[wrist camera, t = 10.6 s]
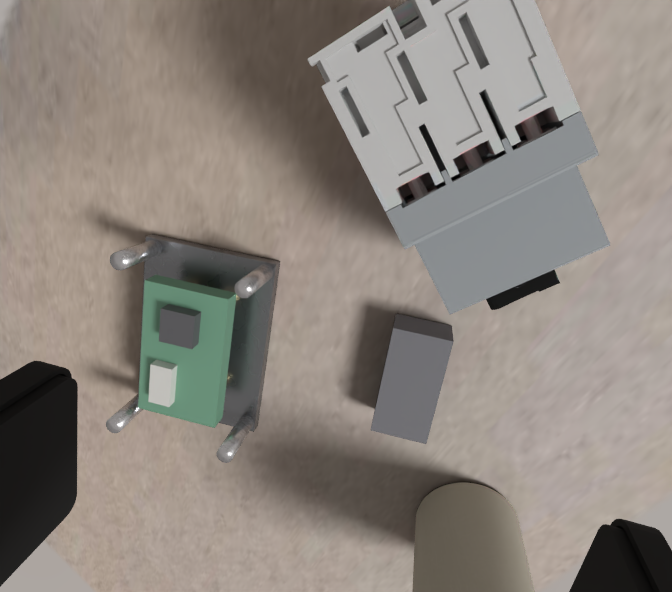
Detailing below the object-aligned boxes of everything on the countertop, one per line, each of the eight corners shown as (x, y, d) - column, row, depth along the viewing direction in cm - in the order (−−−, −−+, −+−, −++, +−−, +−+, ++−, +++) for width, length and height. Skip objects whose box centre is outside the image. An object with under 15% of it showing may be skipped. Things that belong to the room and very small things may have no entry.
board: (156, 274, 35) (136, 284, 33) (236, 293, 35) (222, 304, 32) (148, 397, 39) (130, 414, 36) (222, 417, 38) (208, 435, 36)
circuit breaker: (455, 283, 35) (471, 380, 21) (359, 90, 32) (304, 51, 18) (562, 234, 33) (662, 306, 19) (468, 23, 30) (501, -79, 16)
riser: (396, 313, 36) (393, 328, 33) (451, 325, 36) (453, 341, 33) (375, 409, 39) (370, 430, 36) (426, 421, 38) (426, 444, 36)
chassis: (152, 234, 38) (108, 248, 33) (280, 261, 37) (255, 281, 31) (144, 395, 42) (104, 431, 37) (257, 425, 41) (232, 465, 36)
